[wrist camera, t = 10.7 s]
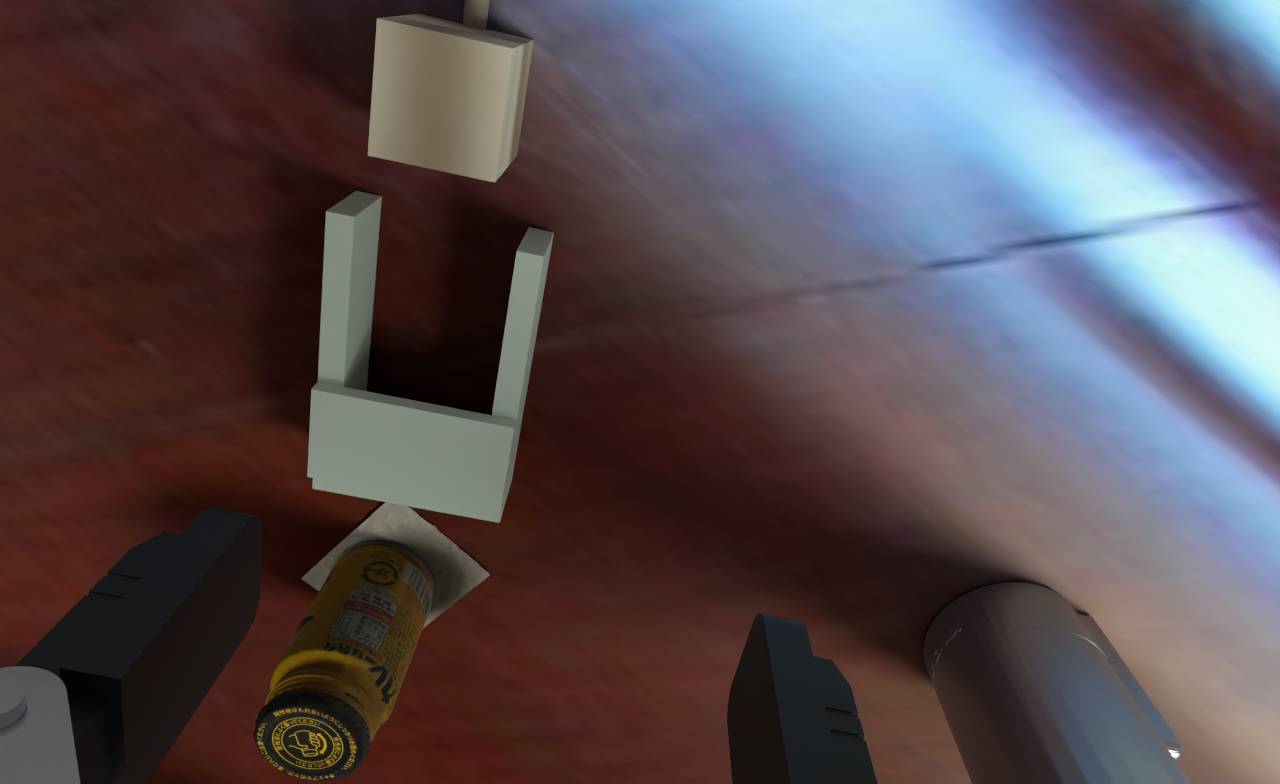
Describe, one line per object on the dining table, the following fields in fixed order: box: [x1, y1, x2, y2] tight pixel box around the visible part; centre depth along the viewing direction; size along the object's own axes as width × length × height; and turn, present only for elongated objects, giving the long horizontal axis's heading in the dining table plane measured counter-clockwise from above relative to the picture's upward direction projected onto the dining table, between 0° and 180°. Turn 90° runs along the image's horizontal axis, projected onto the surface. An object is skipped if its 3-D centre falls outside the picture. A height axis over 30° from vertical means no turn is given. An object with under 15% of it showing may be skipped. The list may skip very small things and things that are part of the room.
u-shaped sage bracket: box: [307, 191, 554, 523], centre depth 41 cm, size 9×14×5 cm, turn 168°
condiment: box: [254, 502, 490, 781], centre depth 44 cm, size 7×8×12 cm
